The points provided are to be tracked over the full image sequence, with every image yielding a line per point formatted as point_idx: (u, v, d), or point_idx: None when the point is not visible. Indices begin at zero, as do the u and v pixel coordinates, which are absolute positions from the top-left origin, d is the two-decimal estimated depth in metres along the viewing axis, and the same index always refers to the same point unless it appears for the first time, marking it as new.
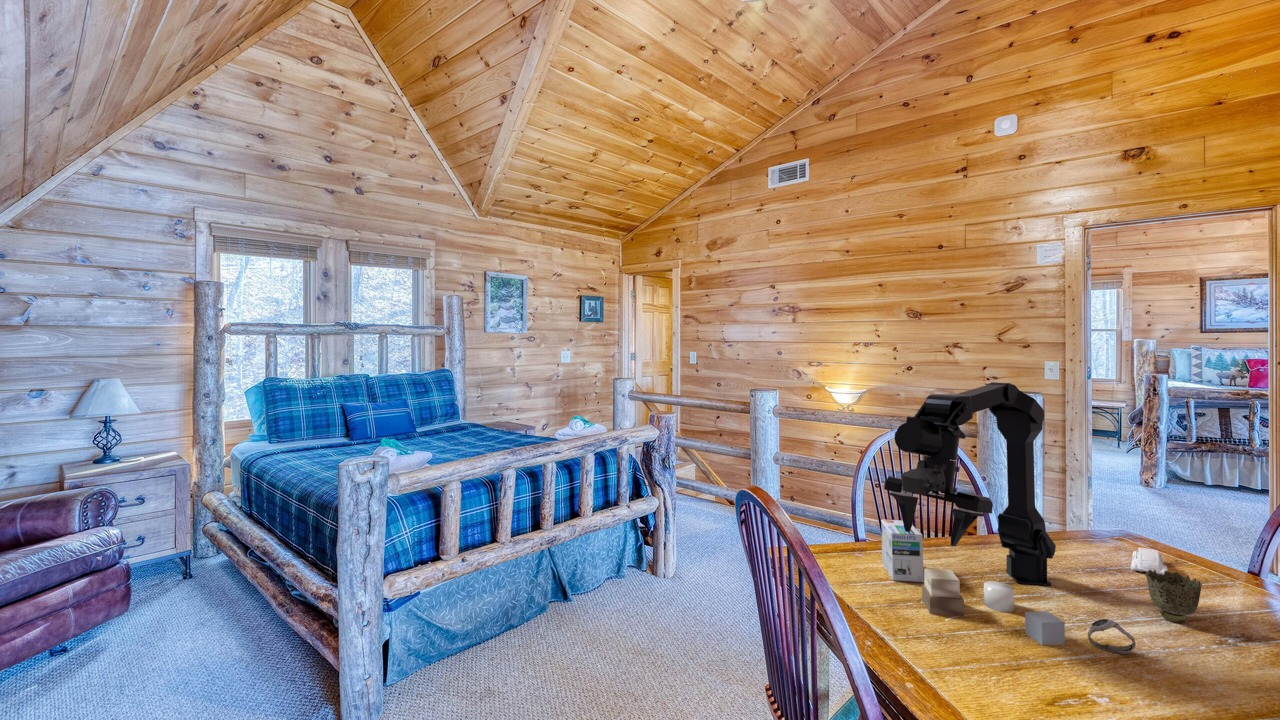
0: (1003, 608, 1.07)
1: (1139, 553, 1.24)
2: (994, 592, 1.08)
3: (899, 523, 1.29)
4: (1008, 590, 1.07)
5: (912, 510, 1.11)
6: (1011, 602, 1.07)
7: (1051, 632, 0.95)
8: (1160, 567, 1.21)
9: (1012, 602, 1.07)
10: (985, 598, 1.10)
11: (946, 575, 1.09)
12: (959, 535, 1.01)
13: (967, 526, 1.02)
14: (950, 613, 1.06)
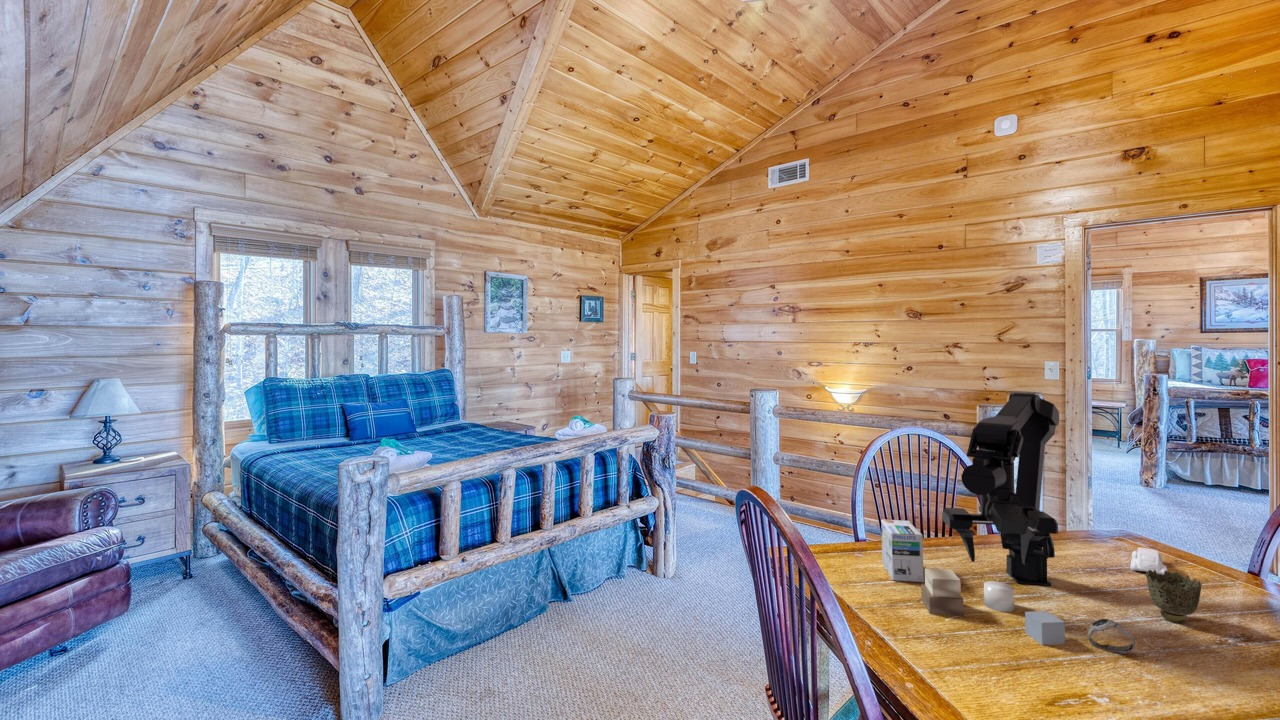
0: (1003, 608, 1.07)
1: (1139, 553, 1.24)
2: (994, 592, 1.08)
3: (899, 523, 1.28)
4: (1008, 590, 1.07)
5: None
6: (1011, 602, 1.07)
7: (1051, 632, 0.95)
8: (1160, 567, 1.21)
9: (1012, 602, 1.07)
10: (985, 598, 1.10)
11: (947, 574, 1.08)
12: None
13: None
14: (949, 613, 1.06)
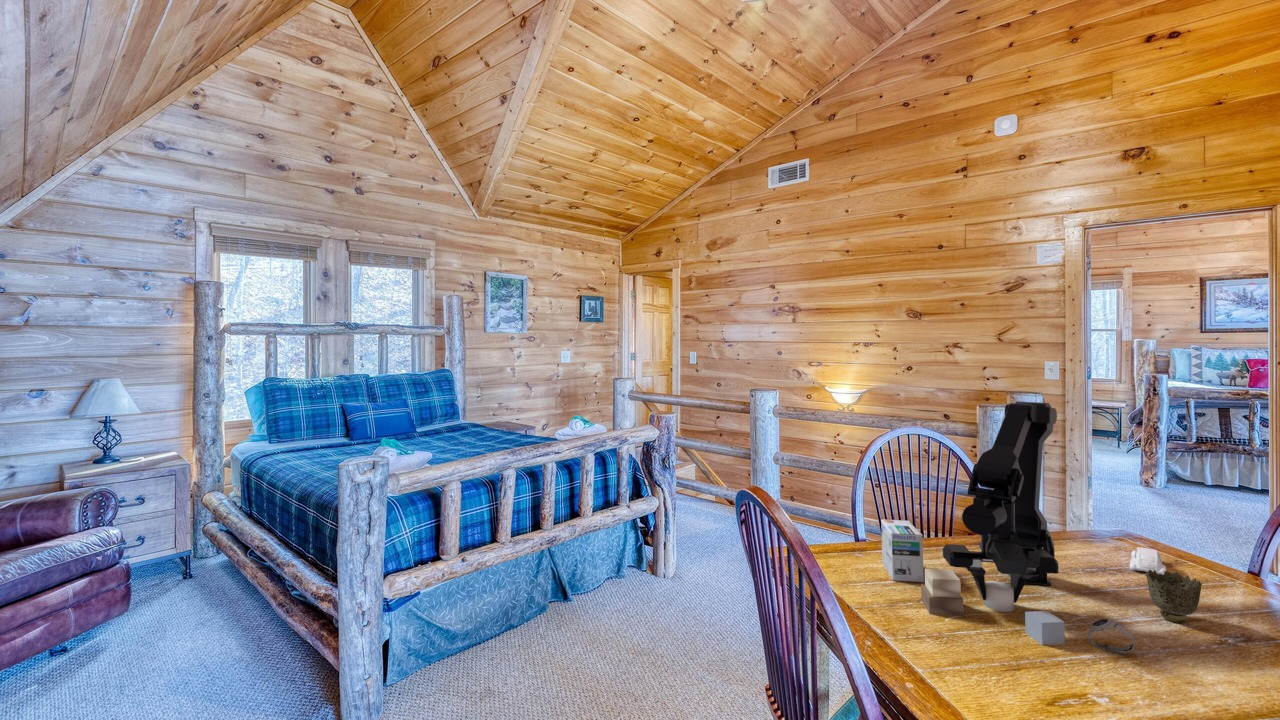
0: (1003, 608, 1.07)
1: (1138, 553, 1.25)
2: (994, 591, 1.08)
3: (899, 523, 1.28)
4: (1008, 590, 1.07)
5: None
6: (1011, 601, 1.07)
7: (1051, 632, 0.95)
8: (1159, 567, 1.21)
9: (1012, 602, 1.07)
10: None
11: (947, 575, 1.08)
12: None
13: None
14: (949, 613, 1.06)
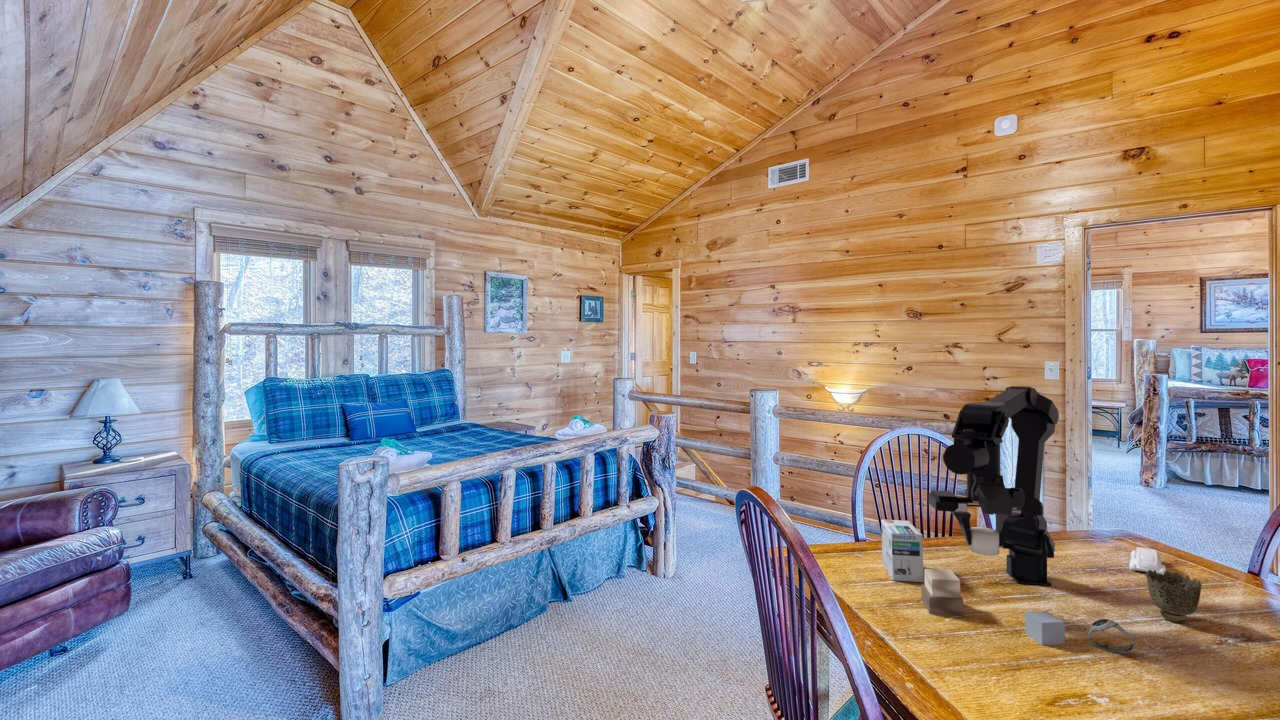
0: (989, 552, 1.06)
1: (1137, 553, 1.25)
2: (980, 535, 1.07)
3: (899, 523, 1.28)
4: (993, 534, 1.07)
5: None
6: (996, 545, 1.06)
7: (1051, 632, 0.95)
8: (1158, 567, 1.21)
9: (997, 545, 1.07)
10: (971, 543, 1.09)
11: (947, 575, 1.08)
12: None
13: None
14: (949, 613, 1.06)
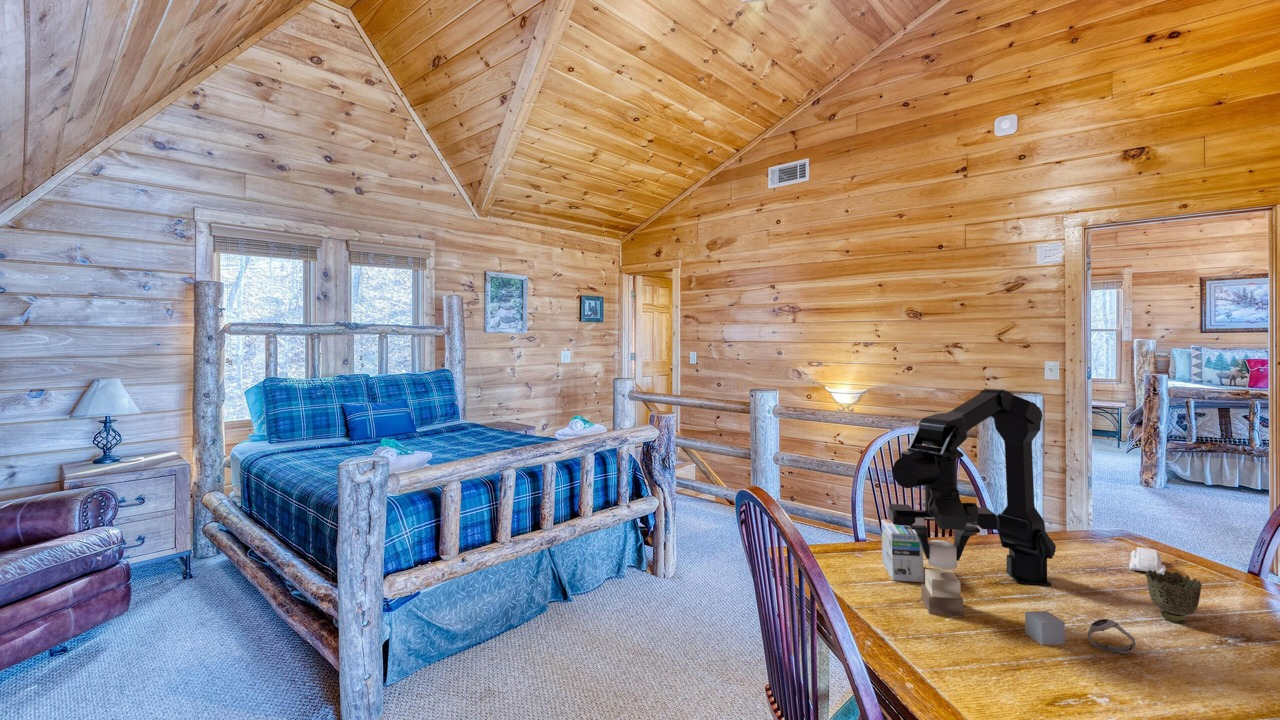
0: (945, 566, 1.06)
1: (1138, 553, 1.25)
2: (937, 549, 1.07)
3: None
4: (950, 548, 1.07)
5: None
6: (953, 559, 1.06)
7: (1051, 632, 0.95)
8: (1158, 567, 1.21)
9: (954, 559, 1.07)
10: (929, 556, 1.09)
11: (947, 575, 1.08)
12: None
13: None
14: (949, 613, 1.06)
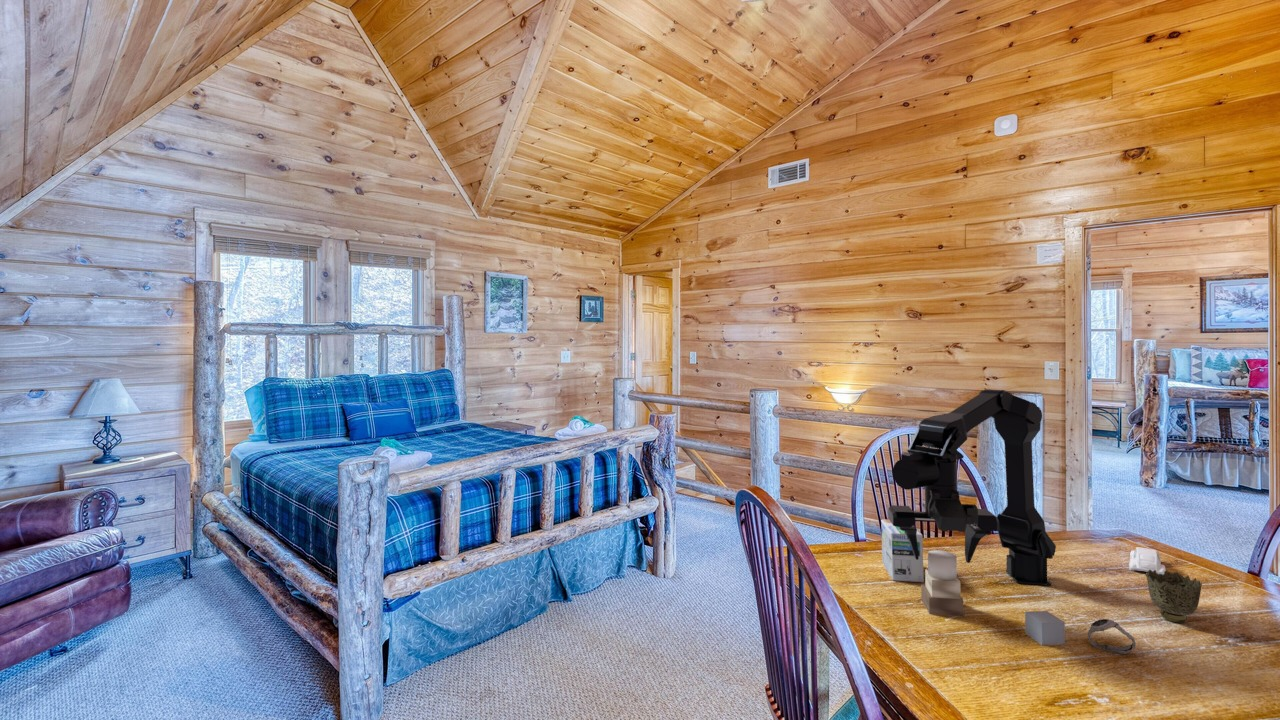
0: (945, 576, 1.06)
1: (1137, 553, 1.25)
2: (936, 560, 1.07)
3: None
4: (950, 558, 1.07)
5: None
6: (953, 570, 1.06)
7: (1051, 632, 0.95)
8: (1158, 566, 1.21)
9: (954, 570, 1.07)
10: (928, 567, 1.09)
11: None
12: None
13: None
14: (949, 613, 1.06)
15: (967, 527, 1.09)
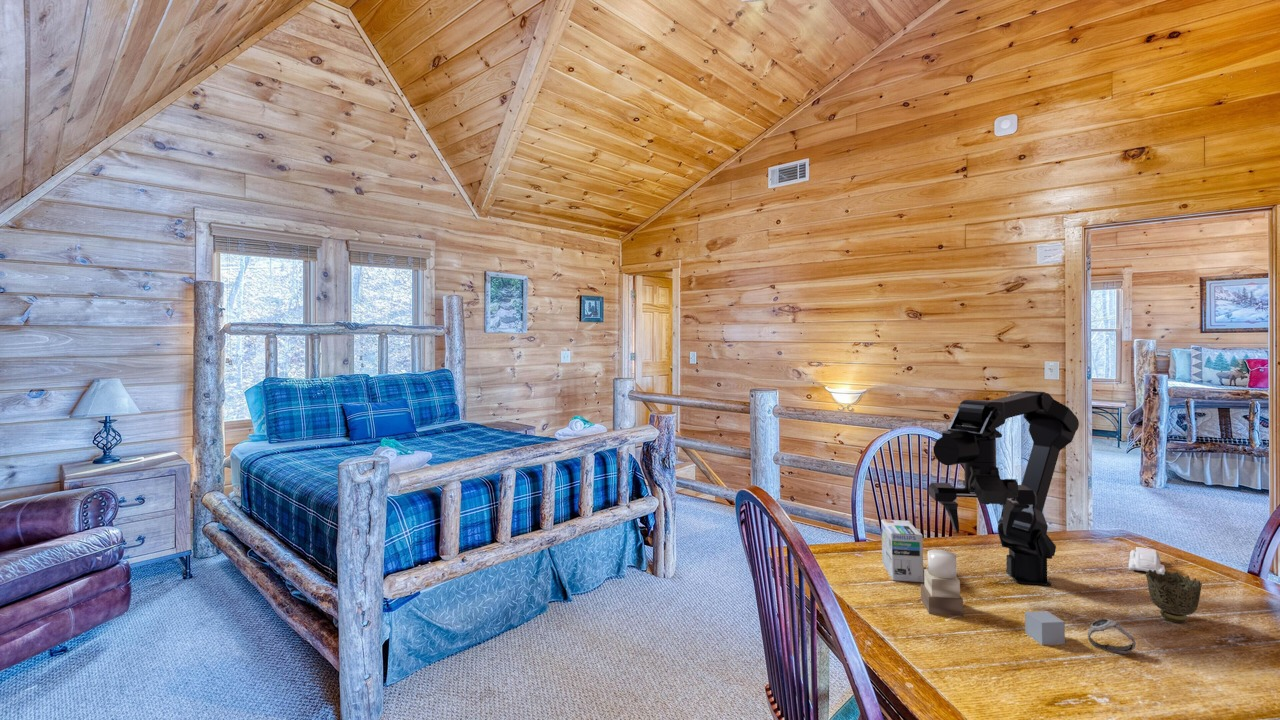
0: (945, 575, 1.07)
1: (1137, 552, 1.25)
2: (936, 559, 1.07)
3: (899, 523, 1.28)
4: (950, 557, 1.07)
5: None
6: (953, 569, 1.07)
7: (1051, 632, 0.95)
8: (1158, 566, 1.21)
9: (954, 569, 1.07)
10: (928, 566, 1.09)
11: None
12: None
13: None
14: (949, 612, 1.06)
15: None
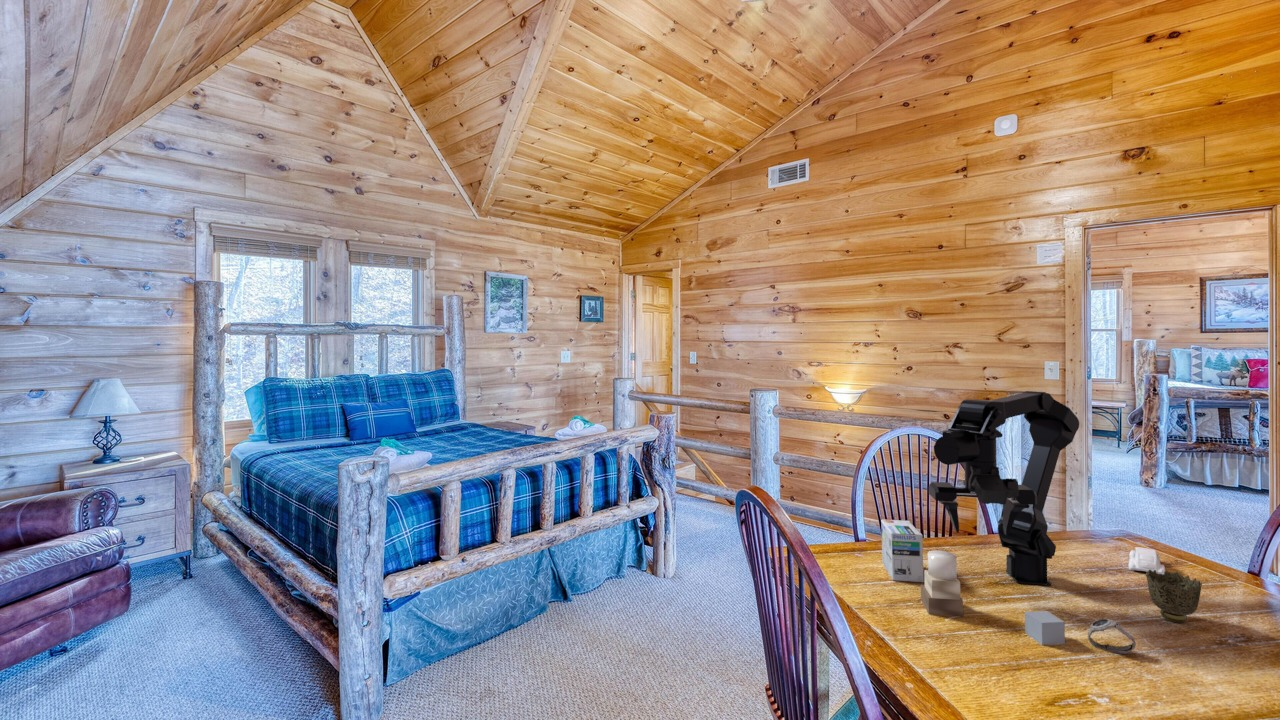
0: (945, 576, 1.06)
1: (1137, 552, 1.25)
2: (937, 560, 1.07)
3: (899, 523, 1.28)
4: (950, 558, 1.07)
5: None
6: (953, 570, 1.06)
7: (1051, 632, 0.95)
8: (1158, 566, 1.21)
9: (954, 570, 1.07)
10: (929, 567, 1.09)
11: None
12: None
13: None
14: (949, 613, 1.06)
15: None
